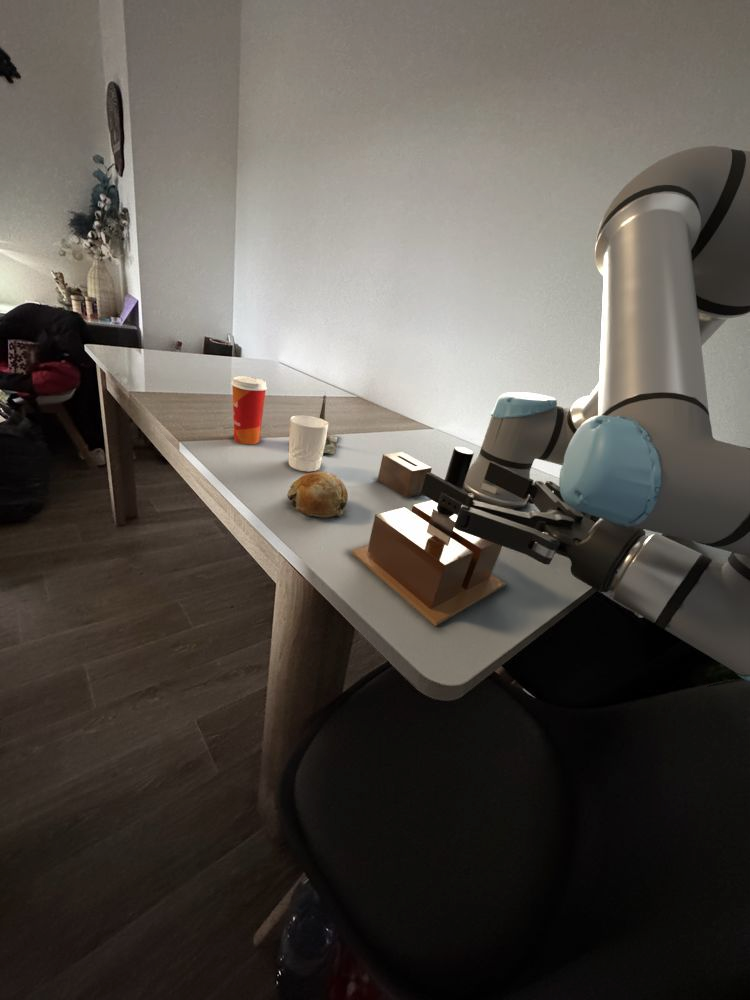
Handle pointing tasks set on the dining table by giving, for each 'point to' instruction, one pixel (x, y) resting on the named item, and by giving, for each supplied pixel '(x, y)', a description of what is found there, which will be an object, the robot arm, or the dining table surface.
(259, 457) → the dining table surface
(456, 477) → the knife
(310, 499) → the bread roll
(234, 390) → the paper cup
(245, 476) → the dining table surface
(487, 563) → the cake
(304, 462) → the white cup
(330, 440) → the eiffel tower figurine
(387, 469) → the knife block
